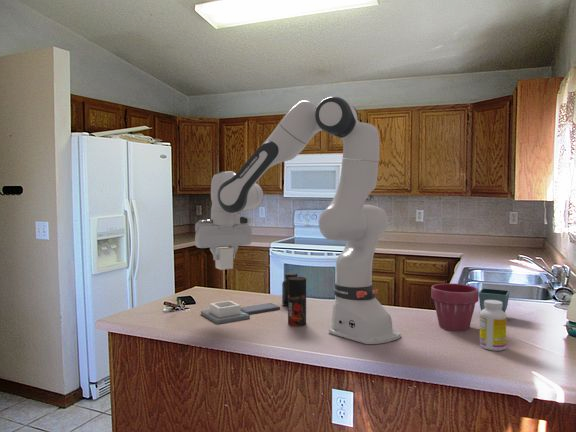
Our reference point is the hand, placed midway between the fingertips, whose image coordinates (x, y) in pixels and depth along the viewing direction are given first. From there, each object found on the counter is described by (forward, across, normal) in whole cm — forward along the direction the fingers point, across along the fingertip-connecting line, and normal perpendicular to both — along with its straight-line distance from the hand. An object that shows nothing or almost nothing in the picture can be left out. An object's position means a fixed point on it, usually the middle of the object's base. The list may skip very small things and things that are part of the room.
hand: (224, 259), depth 157 cm
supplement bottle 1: (+20, +28, +1) cm, 35 cm away
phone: (+20, +14, +1) cm, 24 cm away
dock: (+20, 0, 0) cm, 20 cm away
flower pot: (+20, +77, -51) cm, 95 cm away
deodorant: (+20, +16, -21) cm, 33 cm away
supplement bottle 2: (+20, +49, -69) cm, 87 cm away
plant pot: (+20, +56, -51) cm, 78 cm away
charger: (+3, 0, 0) cm, 3 cm away
